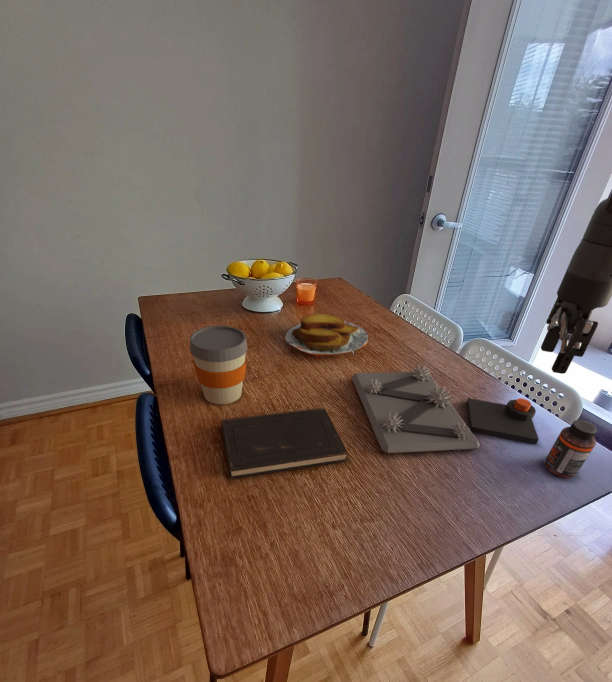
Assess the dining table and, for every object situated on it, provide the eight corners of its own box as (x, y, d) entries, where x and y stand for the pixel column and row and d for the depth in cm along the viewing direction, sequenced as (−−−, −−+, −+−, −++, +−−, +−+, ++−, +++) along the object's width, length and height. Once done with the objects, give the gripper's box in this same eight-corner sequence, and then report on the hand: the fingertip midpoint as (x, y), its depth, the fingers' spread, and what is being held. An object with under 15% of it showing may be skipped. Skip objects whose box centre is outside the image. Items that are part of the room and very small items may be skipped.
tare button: (526, 405, 94) (529, 399, 93) (529, 413, 92) (532, 407, 91) (512, 403, 95) (515, 397, 94) (514, 410, 92) (517, 404, 91)
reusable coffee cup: (255, 403, 94) (254, 345, 85) (201, 413, 89) (194, 354, 81) (241, 376, 103) (238, 322, 94) (192, 384, 99) (184, 328, 90)
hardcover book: (346, 461, 79) (348, 452, 78) (230, 479, 74) (229, 470, 72) (323, 414, 92) (323, 406, 90) (221, 426, 86) (221, 418, 85)
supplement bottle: (539, 456, 84) (563, 413, 77) (570, 461, 83) (596, 418, 76) (547, 476, 79) (573, 432, 72) (580, 482, 78) (608, 438, 71)
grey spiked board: (349, 379, 105) (353, 355, 100) (427, 377, 108) (433, 354, 103) (382, 457, 81) (388, 430, 76) (480, 452, 84) (491, 426, 79)
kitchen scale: (527, 412, 97) (532, 402, 95) (539, 444, 87) (544, 434, 85) (466, 401, 99) (469, 391, 98) (470, 431, 89) (474, 421, 88)
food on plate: (327, 372, 107) (329, 350, 103) (268, 339, 121) (268, 319, 117) (384, 345, 122) (387, 325, 118) (325, 318, 136) (327, 300, 132)
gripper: (638, 289, 57) (585, 384, 67) (604, 263, 69) (563, 347, 78) (581, 282, 59) (538, 376, 68) (557, 257, 70) (522, 341, 79)
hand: (551, 360), depth 73 cm, fingers open, 8 cm apart
